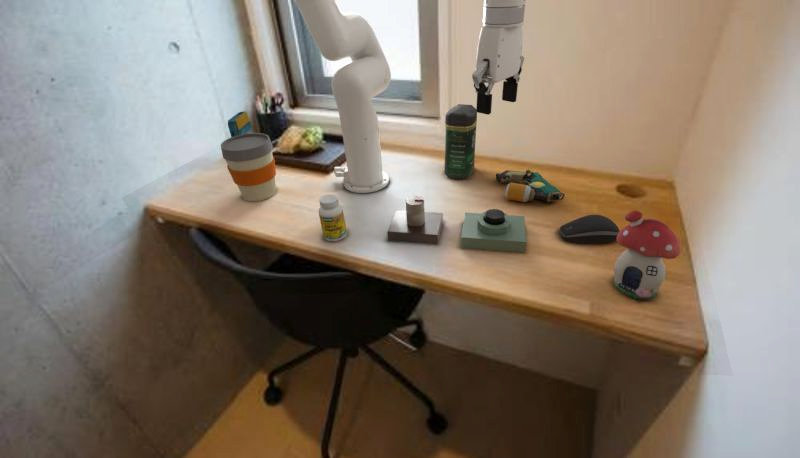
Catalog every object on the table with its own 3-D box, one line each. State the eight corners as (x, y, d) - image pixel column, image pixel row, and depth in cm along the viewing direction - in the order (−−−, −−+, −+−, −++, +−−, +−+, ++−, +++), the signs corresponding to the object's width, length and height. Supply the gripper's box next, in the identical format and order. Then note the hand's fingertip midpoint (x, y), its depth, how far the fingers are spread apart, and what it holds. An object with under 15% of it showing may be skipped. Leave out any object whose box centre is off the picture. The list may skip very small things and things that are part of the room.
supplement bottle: (345, 227, 97) (340, 190, 91) (348, 239, 92) (342, 202, 87) (322, 231, 96) (315, 194, 90) (324, 244, 91) (317, 206, 86)
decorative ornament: (598, 281, 76) (617, 211, 68) (619, 266, 79) (639, 198, 71) (649, 309, 70) (677, 236, 62) (669, 292, 73) (698, 220, 64)
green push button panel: (460, 247, 87) (461, 230, 85) (464, 222, 95) (465, 205, 93) (524, 252, 85) (527, 234, 82) (523, 226, 93) (525, 208, 90)
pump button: (484, 225, 87) (484, 218, 86) (485, 215, 90) (485, 208, 89) (503, 226, 86) (504, 219, 85) (504, 216, 89) (504, 209, 88)
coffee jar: (469, 181, 112) (472, 114, 102) (441, 178, 115) (441, 112, 104) (477, 166, 120) (480, 102, 109) (450, 163, 122) (451, 100, 112)
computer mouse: (555, 227, 92) (557, 211, 89) (611, 225, 91) (616, 210, 89) (564, 245, 86) (567, 229, 84) (625, 244, 85) (630, 228, 83)
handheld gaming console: (251, 156, 136) (239, 111, 127) (263, 156, 135) (251, 110, 127) (238, 169, 128) (224, 121, 119) (251, 169, 127) (238, 121, 119)
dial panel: (388, 240, 91) (387, 231, 90) (396, 219, 98) (396, 210, 97) (437, 244, 89) (437, 235, 87) (442, 222, 96) (442, 212, 95)
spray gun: (493, 178, 114) (549, 180, 113) (500, 206, 100) (564, 207, 98) (495, 164, 112) (552, 165, 111) (502, 189, 98) (567, 191, 96)
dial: (405, 226, 91) (403, 203, 88) (408, 216, 94) (407, 194, 91) (423, 227, 90) (422, 204, 87) (426, 217, 93) (425, 195, 90)
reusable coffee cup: (247, 209, 106) (231, 155, 98) (228, 193, 114) (211, 142, 106) (291, 192, 113) (279, 140, 104) (270, 178, 121) (257, 129, 113)
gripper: (510, 10, 85) (503, 94, 95) (459, 22, 75) (457, 114, 84) (544, 11, 81) (533, 99, 90) (495, 24, 70) (489, 121, 80)
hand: (496, 106), depth 87 cm, fingers open, 9 cm apart
